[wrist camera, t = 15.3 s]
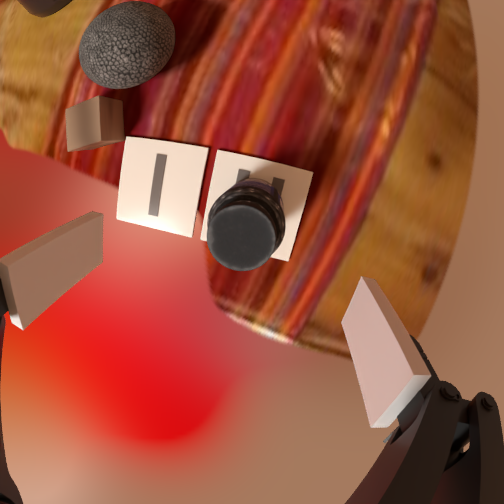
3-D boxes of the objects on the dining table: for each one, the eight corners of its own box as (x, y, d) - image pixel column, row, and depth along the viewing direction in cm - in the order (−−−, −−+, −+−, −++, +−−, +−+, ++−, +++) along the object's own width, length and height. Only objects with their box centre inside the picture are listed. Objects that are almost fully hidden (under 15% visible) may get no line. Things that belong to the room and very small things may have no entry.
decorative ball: (127, 111, 26) (72, 102, 17) (102, 53, 24) (52, 34, 14) (202, 64, 24) (168, 31, 15) (169, 8, 21) (133, -30, 12)
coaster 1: (118, 218, 31) (115, 219, 30) (128, 136, 27) (125, 136, 27) (192, 236, 31) (191, 237, 30) (209, 148, 27) (208, 148, 27)
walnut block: (93, 149, 28) (67, 151, 24) (90, 111, 26) (65, 109, 22) (125, 140, 28) (101, 140, 23) (122, 100, 26) (99, 95, 21)
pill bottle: (213, 206, 29) (177, 237, 19) (253, 164, 27) (238, 172, 17) (254, 246, 30) (242, 296, 20) (296, 207, 28) (306, 240, 18)
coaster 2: (201, 238, 31) (200, 239, 30) (218, 149, 27) (217, 149, 27) (288, 259, 31) (288, 261, 30) (312, 172, 27) (313, 172, 27)
